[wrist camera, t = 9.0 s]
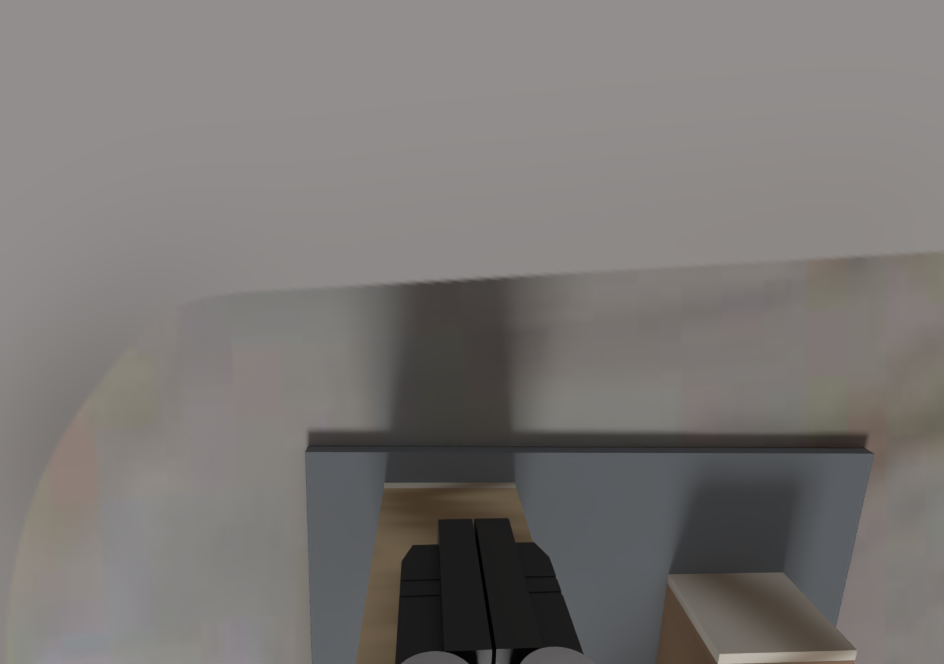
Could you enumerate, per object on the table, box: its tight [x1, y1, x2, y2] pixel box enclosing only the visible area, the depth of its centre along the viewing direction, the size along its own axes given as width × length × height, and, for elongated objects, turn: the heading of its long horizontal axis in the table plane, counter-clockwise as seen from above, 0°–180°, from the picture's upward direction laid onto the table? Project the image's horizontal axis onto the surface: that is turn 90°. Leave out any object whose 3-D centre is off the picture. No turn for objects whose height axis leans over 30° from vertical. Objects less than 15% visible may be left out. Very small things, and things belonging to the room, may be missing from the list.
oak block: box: [356, 482, 533, 664], centre depth 21 cm, size 6×5×11 cm
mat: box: [305, 446, 874, 664], centre depth 28 cm, size 27×18×1 cm, turn 88°
